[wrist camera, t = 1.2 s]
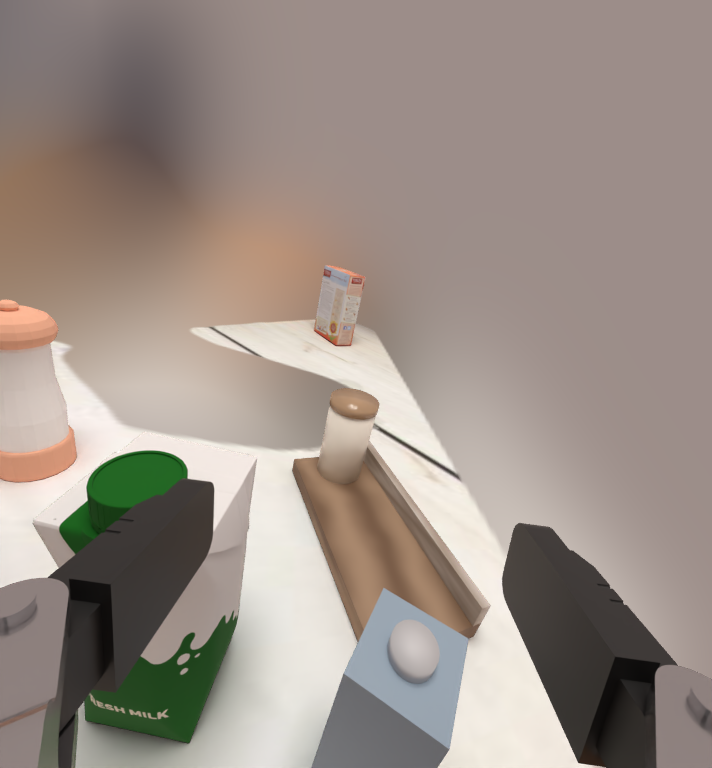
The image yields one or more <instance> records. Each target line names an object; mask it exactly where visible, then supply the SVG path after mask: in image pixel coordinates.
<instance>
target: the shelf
mask: <svg viewBox="0 0 712 768" xmlns="http://www.w3.org/2000/svg"><path fill="white" fill-rule="evenodd" d="M318 460H319V457H314V458H303V459H294V464H293V470H292V471H293V474H294V476H295V479H296V481H297V484H298V487H299V489H300V492H301V495H302V497H303V500H304V502H305V505H306V508H307V510H308V513H309V515H310V518H311V521H312V523H313V526H314V528H315V531H316V534H317V536H318V539H319V541H320V544H321V547H322V549H323V552H324V555H325V557H326V560H327V562H328V565H329V568H330V570H331V573H332V575H333V578H334V581H335V583H336V586H337V588H338V591H339V594H340V596H341V599H342V601H343V604H344V607H345V609H346V612H347V615H348V617H349V620H350V622H351V625H352V628H353V630H354V633H355V635H356V638H357V641H358V642H359V640H360V637H361V635H362V633H363V631H364V629H365V627H366V625H367V622H368V620H369V618H370V616H371V614H372V612H373V610H374V607H375V605H376V603H377V601H378V599H379V597H380V595H381V592H382V590H383V588H385V589H386V590H388V591H390V592H391V593H393V594H395V595H397V596H398V597H400V598H402V599H403V600H405V601H407V602H408V603H410V604H412V605H413V606H415V607H417V608H418V609H420V610H422V611H423V612H425V613H427V614H428V615H430V616H432V617H433V618H435V619H437V620H438V621H440V622H442V623H443V624H445V625H447V626H448V627H450V628H452V629H453V630H455V631H457V632H458V633H460V634H462V635H463V636H465V637H467V638H471V637H473V636H474V635H475V633H476V631H477V629H478V628H479V626H480V624H481V622H482V620H483V619H484V617H485V615H486V613H487V611H488V610H489V608H490V606H491V605H490V604H489V603H488V601H487V600H486V599H485V597H484V596H483V595H482V593H481V592H480V591H479V589H478V588H477V586H476V585H475V584H474V582H473V581H472V580H471V578H470V577H469V576H468V574H467V573H466V572H465V570H464V569H463V567H462V566H461V565H460V563H459V562H458V561H457V559H456V558H455V557H454V555H453V554H452V552H451V551H450V550H449V548H448V547H447V546H446V544H445V543H444V542H443V540H442V539H441V538H440V536H439V535H438V533H437V532H436V531H435V529H434V528H433V527H432V525H431V524H430V523H429V521H428V520H427V518H426V517H425V516H424V514H423V513H422V512H421V510H420V509H419V508H418V506H417V505H416V504H415V502H414V501H413V499H412V498H411V497H410V495H409V494H408V493H407V491H406V490H405V489H404V487H403V486H402V485H401V483H400V482H399V480H398V479H397V478H396V476H395V475H394V474H393V472H392V471H391V470H390V468H389V467H388V465H387V464H386V463H385V461H384V460H383V459H382V457H381V456H380V455H379V453H378V452H377V451H376V449H375V448H374V446H373V445H372V444H371V442H370V441H369V442H368V446H367V450H366V453H365V457H364V461H363V464H362V468H361V472H360V476H359V478H358V479H357V480H356V481H354V482H352V483H349V484H337V483H333V482H330V481H328V480H326V479H325V478H323V477H322V476H321V475H320V473H319V472H318V469H317V465H318Z"/></svg>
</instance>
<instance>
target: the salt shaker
mask: <svg viewBox="0 0 712 768" xmlns="http://www.w3.org/2000/svg"><path fill="white" fill-rule="evenodd" d="M57 332H58V326H57V325H56V322H55V321H54V320H53V319H52V318H51V317H50V316H49V315H48V314H47V313H45V312H43V311H40V310H37V309H34V308H30V307H26V306H20V305H18V304H17V303H16V302H14V301H11V300H1V301H0V478H1V479H3V480H5V481H12V482H29V481H35V480H40V479H44V478H47V477H50V476H53V475H56V474H58V473H60V472H62V471H63V470H65V469H67V468H68V467H69V466H70V465H72V464H73V463H74V461H75V459H76V457H77V454H76V446H75V439H74V431H73V429H72V428H71V427H70V426H69V425H68V416H67V406H66V402H65V399H64V397H63V394H62V392H61V389H60V386H59V384H58V381H57V378H56V376H55V370H54V364H53V358H52V351H51V345H50V343H51V342H52V341H53V340H54V339H55V338H56V336H57Z"/></svg>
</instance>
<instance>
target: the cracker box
mask: <svg viewBox="0 0 712 768" xmlns="http://www.w3.org/2000/svg"><path fill="white" fill-rule="evenodd" d="M364 281H365V277H364V276H361V275H358V274H356V273H353V272H351V271H348V270H345V269H343V268H340V267H335V266H327V265H326V266H325V269H324V275H323V281H322V287H321V293H320V299H319V304H318V311H317V316H316V322H315V328H314V331H316V332H317V333H319V334H320V335H321V336H323V337H324V338H326V339H327V340H329V341H330V342H332V343H333V344H334V345H346V346H348V345H351V342H352V337H353V333H354V328H355V323H356V319H357V313H358V309H359V304H360V300H361V296H362V291H363V286H364Z"/></svg>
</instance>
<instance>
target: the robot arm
mask: <svg viewBox="0 0 712 768" xmlns="http://www.w3.org/2000/svg"><path fill="white" fill-rule="evenodd" d="M213 524H214V485H213V483H212V482H209V481H201V480H194V479H186V478H182V479H180V480H179V481H178V482H177V483H176V484H175V485H173V486H172V487H171V488H170V489H169V490H168V491H167V492H166V493H164V494H163V495H155V496H153V497H151V498H149V499H147V500H145V501H142V502H140V503H138V504H136V505H135V506H133V507H132V508H131V509H130V510H129V511H127V512H126V513H125V514H124V515H123V516H121V517H120V518H119V521H115V522H114V523H113V524H112V525H110V526H109V527H108V528H107V529H106V530H105V532H104V533H101V534H100V535H98V536H97V537H96V538H95V539H94V540H92V541H91V542H90V543H89V544H88V545H86V546H85V547H84V548H83V549H81V550H80V551H79V552H78V553H77V554H75V555H74V556H73V557H72V558H71V559H69V560H68V561H67V562H66V563H65V564H63V565H62V566H61V567H60V568H59V569H57V570H56V571H55V572H54V573H53V574H51V575H50V576H49V577H48V578H36V579H29V580H24V581H20V582H17V583H13V584H10V585H8V586H5V587H2V588H0V768H75V760H76V745H77V730H78V708H79V707H80V706H81V704H82V703H83V701H84V700H85V699H86V697H87V696H88V695H89V693H90V692H91V691H92V689H93V690H100V691H107V692H114V693H116V692H117V690H118V689H119V687H120V686H121V684H122V683H123V681H124V680H125V678H126V677H127V675H128V674H129V672H130V671H131V669H132V668H133V666H134V665H135V663H136V662H137V660H138V659H139V657H140V656H141V654H142V653H143V651H144V650H145V648H146V647H147V645H148V644H149V642H150V641H151V639H152V638H153V636H154V635H155V633H156V632H157V630H158V629H159V627H160V626H161V624H162V623H163V621H164V620H165V619H166V617H167V616H168V614H169V613H170V611H171V610H172V608H173V607H174V605H175V604H176V602H177V601H178V599H179V598H180V596H181V595H182V593H183V592H184V590H185V589H186V587H187V586H188V584H189V583H190V581H191V580H192V578H193V577H194V575H195V574H196V572H197V571H198V569H199V568H200V566H201V565H202V563H203V562H204V560H205V559H206V557H207V555H208V552H209V550H210V547H211V543H212V539H213ZM502 586H503V594H504V598H505V601H506V603H507V605H508V608H509V610H510V612H511V614H512V617H513V619H514V621H515V623H516V625H517V628H518V630H519V632H520V634H521V637H522V639H523V641H524V643H525V645H526V648H527V650H528V652H529V654H530V657H531V659H532V661H533V663H534V665H535V668H536V670H537V672H538V674H539V677H540V679H541V681H542V683H543V685H544V688H545V690H546V692H547V694H548V697H549V699H550V701H551V703H552V705H553V708H554V710H555V712H556V714H557V717H558V719H559V721H560V723H561V726H562V728H563V730H564V732H565V734H566V737H567V739H568V741H569V743H570V746H571V748H572V750H573V752H574V754H575V757H576V759H577V761H578V763H581V764H588V765H595V766H602V767H606V768H712V679H710V678H708V677H706V676H704V675H702V674H700V673H698V672H696V671H693V670H691V669H688V668H685V667H681V666H678V665H677V664H676V662H675V661H674V660H673V659H672V658H671V657H670V655H669V654H668V653H667V652H666V651H665V650H664V648H663V647H662V646H661V645H660V644H659V643H658V641H657V640H656V639H655V638H654V637H653V635H652V634H651V633H650V632H649V631H648V630H647V628H646V627H645V626H644V625H643V624H642V623H641V621H639V619H638V618H637V617H636V616H635V614H634V613H633V612H632V611H631V610H630V609H629V607H628V606H627V605H624V604H623V600H622V599H621V598H620V597H619V596H618V594H617V593H616V592H615V591H614V590H613V589H610V585H609V584H608V583H607V581H606V580H605V579H604V578H603V577H602V576H601V574H600V573H599V572H598V571H597V570H596V568H595V567H594V566H592V565H591V564H589V563H588V562H587V561H586V560H584V559H583V558H582V557H580V556H579V555H578V554H577V553H575V552H574V551H570V550H569V549H568V548H567V546H566V545H565V544H564V543H563V542H562V540H561V539H560V538H559V536H558V535H557V534H556V533H555V532H554V530H553V529H551V528H550V527H546V526H537V525H530V524H523V523H518V524H517V525H516V526H515V528H514V530H513V534H512V538H511V542H510V546H509V551H508V555H507V559H506V563H505V567H504V571H503V577H502Z"/></svg>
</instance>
